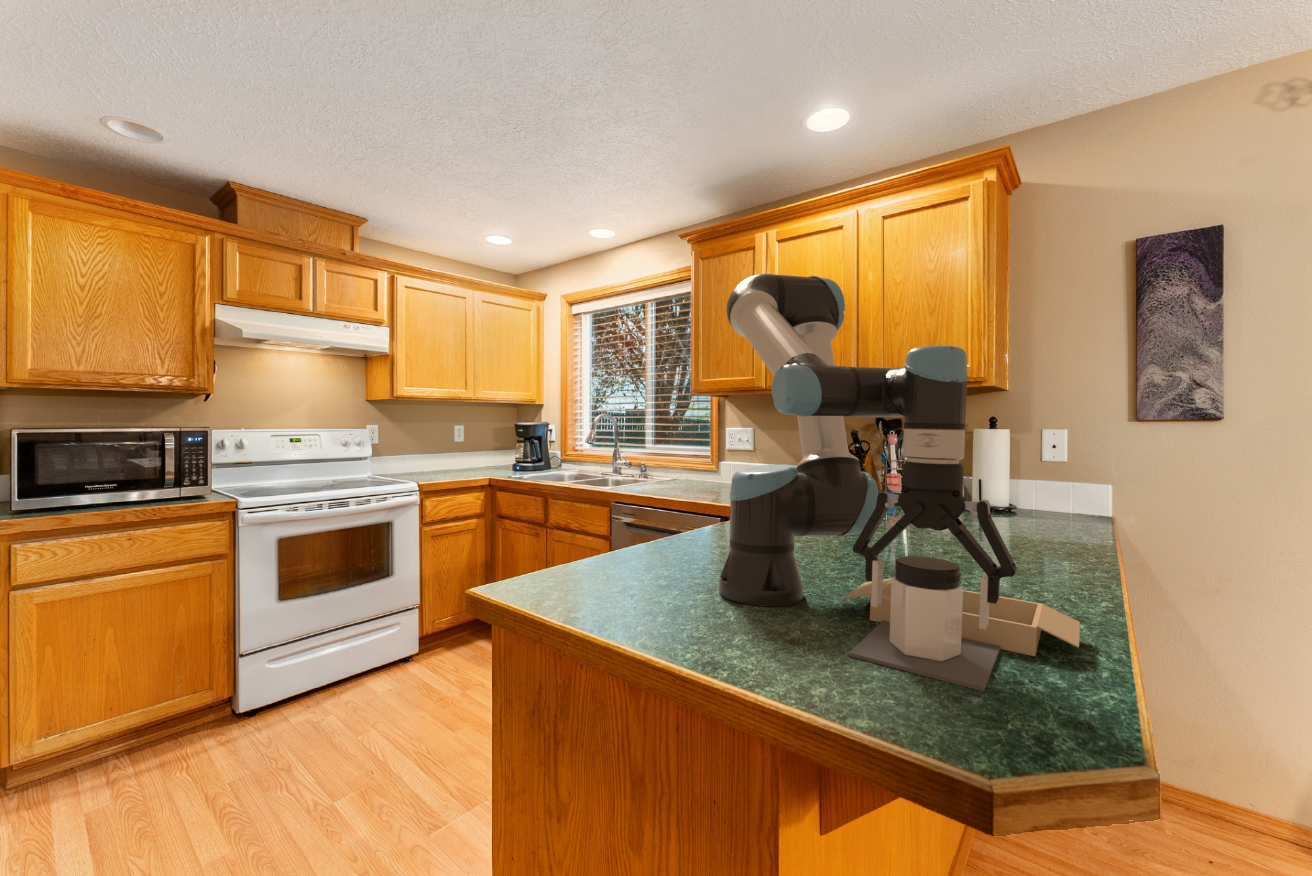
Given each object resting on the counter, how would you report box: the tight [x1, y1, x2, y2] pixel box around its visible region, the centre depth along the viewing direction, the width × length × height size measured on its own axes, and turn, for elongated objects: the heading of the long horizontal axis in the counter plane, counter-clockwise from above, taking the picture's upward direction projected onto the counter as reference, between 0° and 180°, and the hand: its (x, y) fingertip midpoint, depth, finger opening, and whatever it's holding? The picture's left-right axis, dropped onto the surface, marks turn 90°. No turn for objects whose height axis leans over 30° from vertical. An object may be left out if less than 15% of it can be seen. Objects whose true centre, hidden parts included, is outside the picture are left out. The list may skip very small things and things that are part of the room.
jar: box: [889, 555, 964, 662], centre depth 79 cm, size 9×8×12 cm
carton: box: [842, 577, 1081, 657], centre depth 90 cm, size 32×13×4 cm, turn 53°
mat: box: [848, 621, 1001, 692], centre depth 79 cm, size 16×16×1 cm
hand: (927, 614), depth 79 cm, fingers open, 13 cm apart
